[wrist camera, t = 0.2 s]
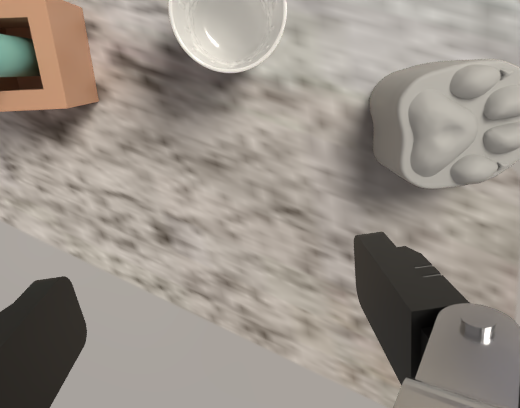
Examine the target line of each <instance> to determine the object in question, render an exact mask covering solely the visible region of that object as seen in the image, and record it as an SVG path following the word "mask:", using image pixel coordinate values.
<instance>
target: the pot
mask: <svg viewBox="0 0 520 408" xmlns="http://www.w3.org/2000/svg"><path fill="white" fill-rule="evenodd" d="M0 34H4V35H11V36H17V37H24V38H30V39H32V40H33V44H34V49H35V53H36V57H37V62H38V66H39V71H40V75H41V76H25V77H0V112H4V111H25V110H45V109H66V108H72V107H76V106H81V105H85V104H90V103H94V102H99V100H98V94H97V88H96V83H95V77H94V72H93V66H92V61H91V55H90V50H89V44H88V38H87V33H86V27H85V22H84V16H83V11H82V8H81V7H78V6H76V5H73V4H71V3H68V2H66V1H63V0H0Z"/></svg>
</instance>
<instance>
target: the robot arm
mask: <svg viewBox="0 0 520 408" xmlns="http://www.w3.org/2000/svg"><path fill="white" fill-rule="evenodd" d="M354 256H355V276H356V289H357V295H358V299H359V302H360V305H361V307H362V309H363V311H364V313H365V315H366V317H367V319H368V321H369V323H370V325H371V327H372V329H373V331H374V333H375V335H376V337H377V339H378V341H379V342H380V344H381V346H382V348H383V350H384V352H385V354H386V356H387V358H388V360H389V362H390V364H391V366H392V368H393V370H394V372H395V374H396V376H397V378H398V380H399V381H400V383H401V385H402V386H401V388H400V391H399V393H398V396H397V398H396V401H395V404H394V406H393V408H520V327H519V325H518V324H517V323H516V322H515V321H514V320H513V319H512V318H511V317H509V316H508V315H506V314H504V313H503V312H501V311H498V310H496V309H494V308H491V307H487V306H484V305H478V304H470V303H469V302H468V301H467V300H466V299H465V298H464V297H463V296H462V295H461V294H460V293H459V292H458V291H457V290H456V289H455V288H454V287H453V286H452V284H451V283H450V282H449V281H448V280H447V279H446V278H445V277H444V276H443V275H442V276H441V275H440V272H439V271H438V270H437V269H436V268H435V267H434V266H433V267H432V264H431V263H430V262H429V261H428V260H427V259H426V258H425V257H424V256H423V255H422V254H421V253H418V252H416V251H414V250H412V249H410V248H408V247H406V246H403V247H396V246H395V245H394V244H393V242H392V241H391V240H390V239H389V238H388V237H387V236H386V235H385V233H384V232H377V233H369V234H362V235H356V236H355V238H354ZM86 335H87V330H86V323H85V320H84V317H83V314H82V311H81V308H80V306H79V303H78V300H77V297H76V294H75V291H74V288H73V285H72V283H71V281H70V280H69V279H68V278H67V277H57V278H50V279H43V280H37V281H34V282H33V283H32V284H31V285H30V287H28V288H27V289H26V290H25V292H24V293H23V294H22V295H21V296H20V297H19V298H18V299H17V300H16V301H15V302H14V303H13V304H12V305H10V306H9V307H7V308H5V309H4V310H2V311H1V312H0V408H50V406H51V404H52V402H53V401H54V399H55V397H56V395H57V394H58V392H59V390H60V388H61V386H62V385H63V383H64V381H65V379H66V377H67V376H68V374H69V372H70V370H71V368H72V367H73V365H74V363H75V361H76V360H77V358H78V356H79V354H80V352H81V350H82V348H83V347H84V345H85V342H86Z"/></svg>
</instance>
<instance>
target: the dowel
mask: <svg viewBox="0 0 520 408" xmlns="http://www.w3.org/2000/svg"><path fill="white" fill-rule="evenodd" d="M25 76H41V75H40V71H39V66H38V62H37V57H36V53H35V49H34V44H33V40H32V39H30V38H24V37H17V36H11V35H4V34H0V77H25Z"/></svg>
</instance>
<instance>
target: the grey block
mask: <svg viewBox="0 0 520 408" xmlns="http://www.w3.org/2000/svg"><path fill="white" fill-rule="evenodd" d="M369 106H370V112H371V116H372V120H373V126H374V136H373V153H374V156H375V158H376V160H377V161H378V162H379V163H380V164H382V165H383V166H385V167H386V168H388V169H389V170H391V171H392V172H394V173H395V174H397V175H398V176H400V177H401V178H403V179H404V180H406V181H407V182H409V183H411V184H413V185H415V186H417V187H420V188H425V189H440V188H448V187H458V186H463V185H468V184H477V183H481V182H484V181H486V180H487V179H490V178H493V177H495V176H497V175H498V174H500V173H502V172H503V171H505V170H506V169H508V168H509V167H510V166H512V165H513V164H514V163H515V162H517V161H518V160H520V67H518V66H516V65H513V64H511V63H508V62H506V61H502V60H498V59H478V60H455V61H439V62H432V63H426V64H420V65H416V66H412V67H409V68H406V69H402V70H399V71H396V72H393V73H391V74H389V75H387V76H386V77H384V78H383V79H382V80H381V81H380V82H379V83H378V84H377V85H376V86H375V88H374V89H373V91H372V93H371V96H370V101H369Z"/></svg>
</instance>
